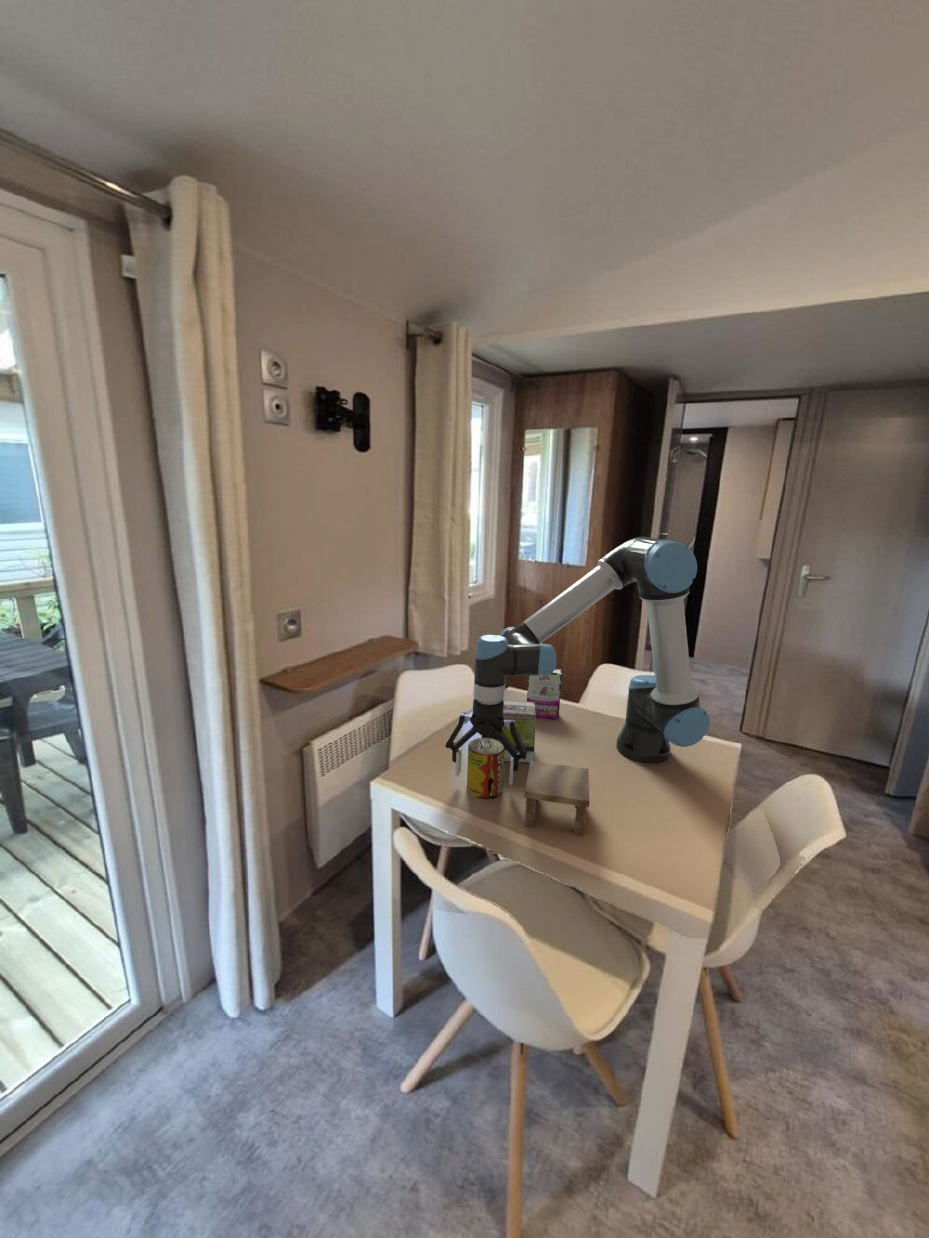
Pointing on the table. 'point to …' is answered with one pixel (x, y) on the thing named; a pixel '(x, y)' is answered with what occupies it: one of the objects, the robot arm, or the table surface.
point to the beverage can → (485, 768)
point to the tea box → (520, 726)
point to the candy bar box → (545, 694)
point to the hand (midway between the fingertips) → (484, 777)
